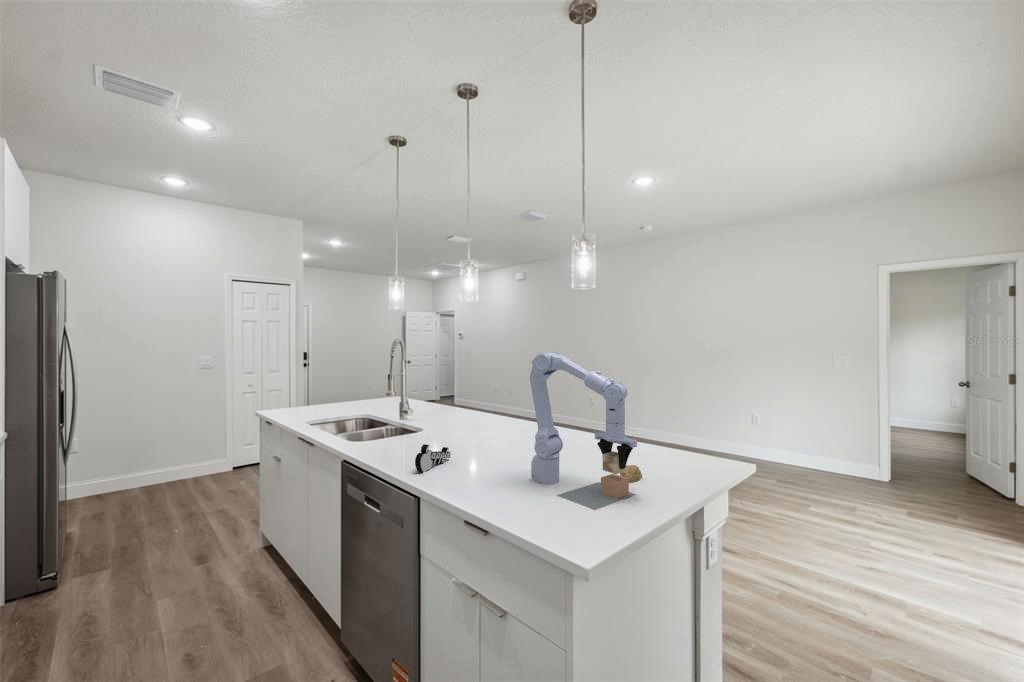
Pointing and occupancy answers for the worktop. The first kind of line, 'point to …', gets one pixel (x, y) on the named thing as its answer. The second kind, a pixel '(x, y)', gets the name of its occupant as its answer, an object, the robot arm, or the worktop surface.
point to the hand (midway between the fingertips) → (614, 466)
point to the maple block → (612, 462)
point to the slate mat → (591, 496)
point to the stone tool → (632, 473)
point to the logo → (430, 458)
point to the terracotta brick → (615, 486)
